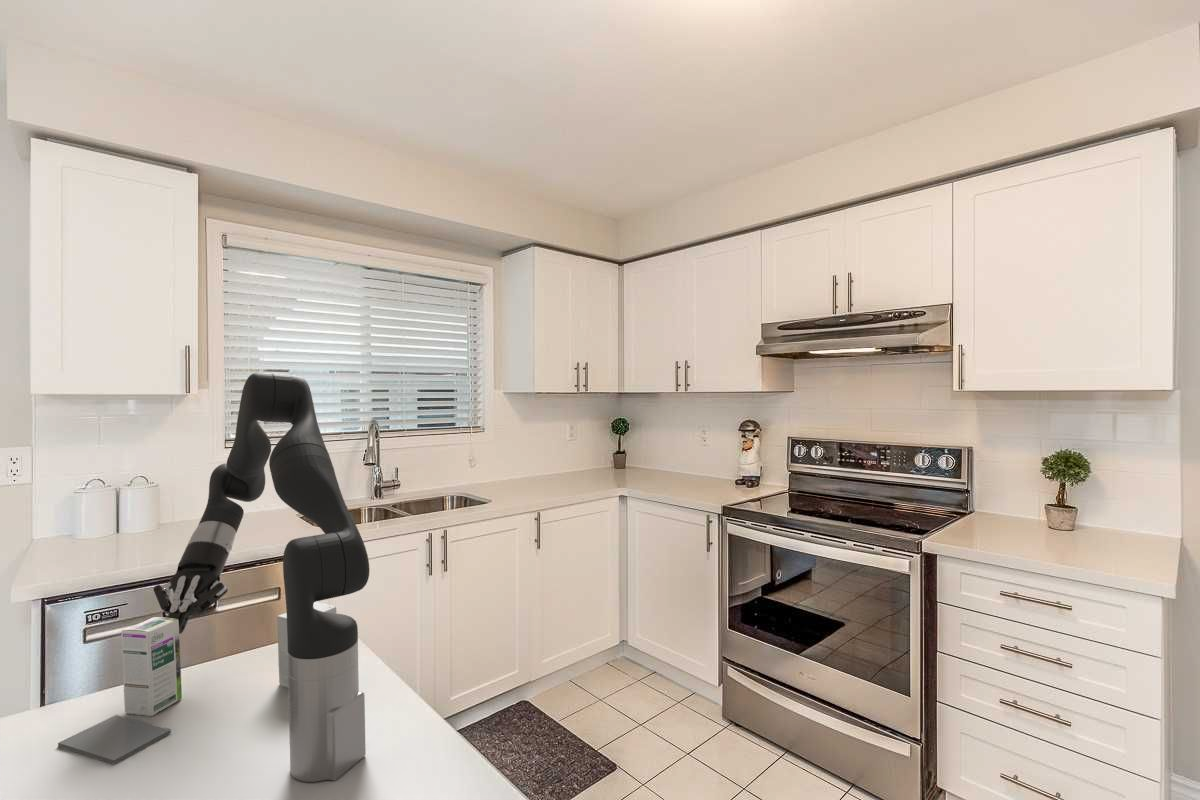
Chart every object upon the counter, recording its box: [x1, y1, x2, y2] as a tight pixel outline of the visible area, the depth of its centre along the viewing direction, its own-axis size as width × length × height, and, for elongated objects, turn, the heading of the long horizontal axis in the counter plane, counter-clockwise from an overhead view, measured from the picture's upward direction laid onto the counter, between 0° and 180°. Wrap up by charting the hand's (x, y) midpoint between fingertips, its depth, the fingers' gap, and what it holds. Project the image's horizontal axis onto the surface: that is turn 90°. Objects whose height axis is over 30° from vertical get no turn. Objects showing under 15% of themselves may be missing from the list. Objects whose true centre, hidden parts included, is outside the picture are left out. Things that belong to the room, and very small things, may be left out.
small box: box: [276, 601, 337, 689], centre depth 109 cm, size 8×6×13 cm
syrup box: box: [120, 616, 183, 717], centre depth 100 cm, size 6×6×14 cm
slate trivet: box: [57, 714, 172, 765], centre depth 91 cm, size 13×8×1 cm, turn 70°
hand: (171, 635), depth 105 cm, fingers closed
